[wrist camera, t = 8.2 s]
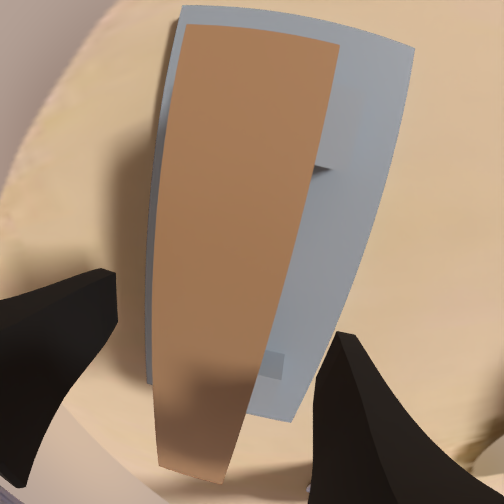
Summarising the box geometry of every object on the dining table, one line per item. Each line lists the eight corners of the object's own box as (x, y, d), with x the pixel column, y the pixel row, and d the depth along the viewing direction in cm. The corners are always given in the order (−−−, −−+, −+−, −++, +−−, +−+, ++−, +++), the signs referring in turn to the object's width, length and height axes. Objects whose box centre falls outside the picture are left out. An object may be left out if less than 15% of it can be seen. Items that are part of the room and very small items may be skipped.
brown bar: (242, 408, 16) (222, 484, 11) (184, 392, 16) (152, 463, 12) (324, 80, 9) (340, 45, 5) (229, 63, 9) (173, 24, 5)
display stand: (292, 411, 20) (288, 446, 17) (152, 373, 20) (135, 403, 18) (407, 52, 10) (431, 37, 8) (190, 11, 11) (164, -10, 8)
